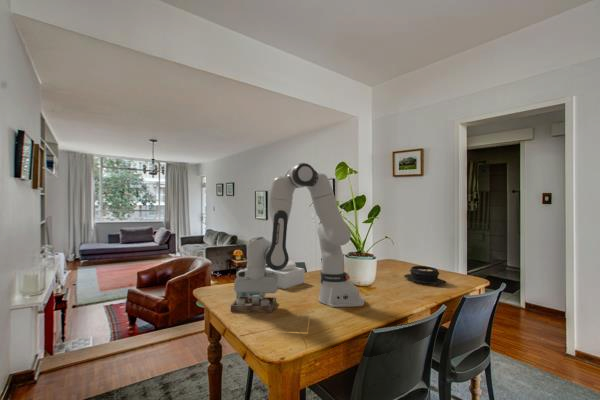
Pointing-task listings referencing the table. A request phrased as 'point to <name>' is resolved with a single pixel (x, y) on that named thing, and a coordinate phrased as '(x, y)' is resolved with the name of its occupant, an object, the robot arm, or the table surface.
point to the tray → (250, 308)
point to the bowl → (249, 294)
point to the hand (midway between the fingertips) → (255, 301)
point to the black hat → (424, 275)
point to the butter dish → (289, 275)
